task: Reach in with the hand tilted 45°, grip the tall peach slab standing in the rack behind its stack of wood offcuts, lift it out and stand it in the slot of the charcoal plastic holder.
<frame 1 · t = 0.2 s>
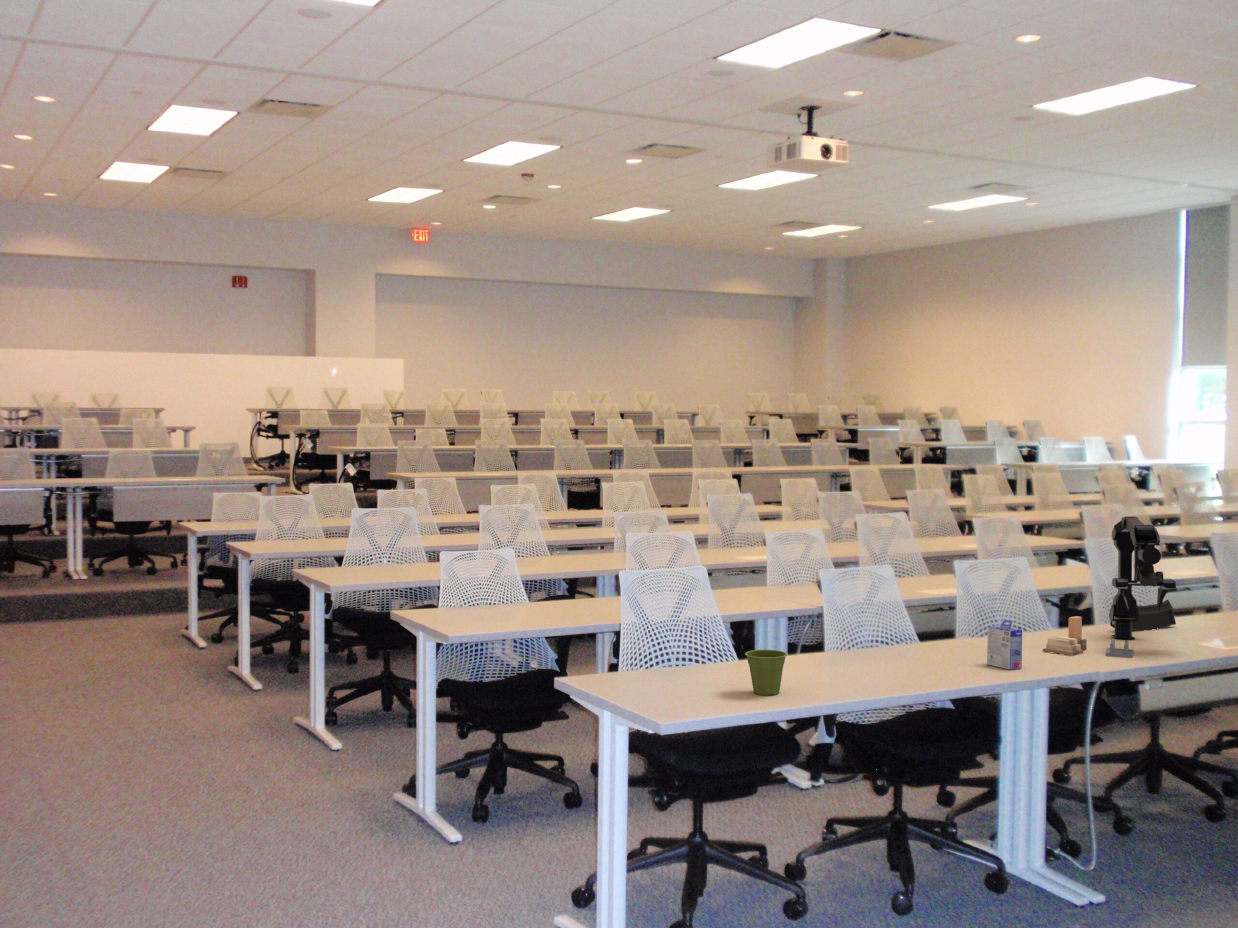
hand: (1143, 609, 379), 14 cm above the table, tool pointing down, fingers open, 9 cm apart
holder: (1119, 654, 376), on the table
plant pot: (766, 693, 320), on the table
tall peach slab: (1075, 649, 385), resting in rack
rack: (1075, 649, 385), on the table
ink cartridge box: (1004, 667, 356), on the table
magazine: (1143, 630, 424), on the table
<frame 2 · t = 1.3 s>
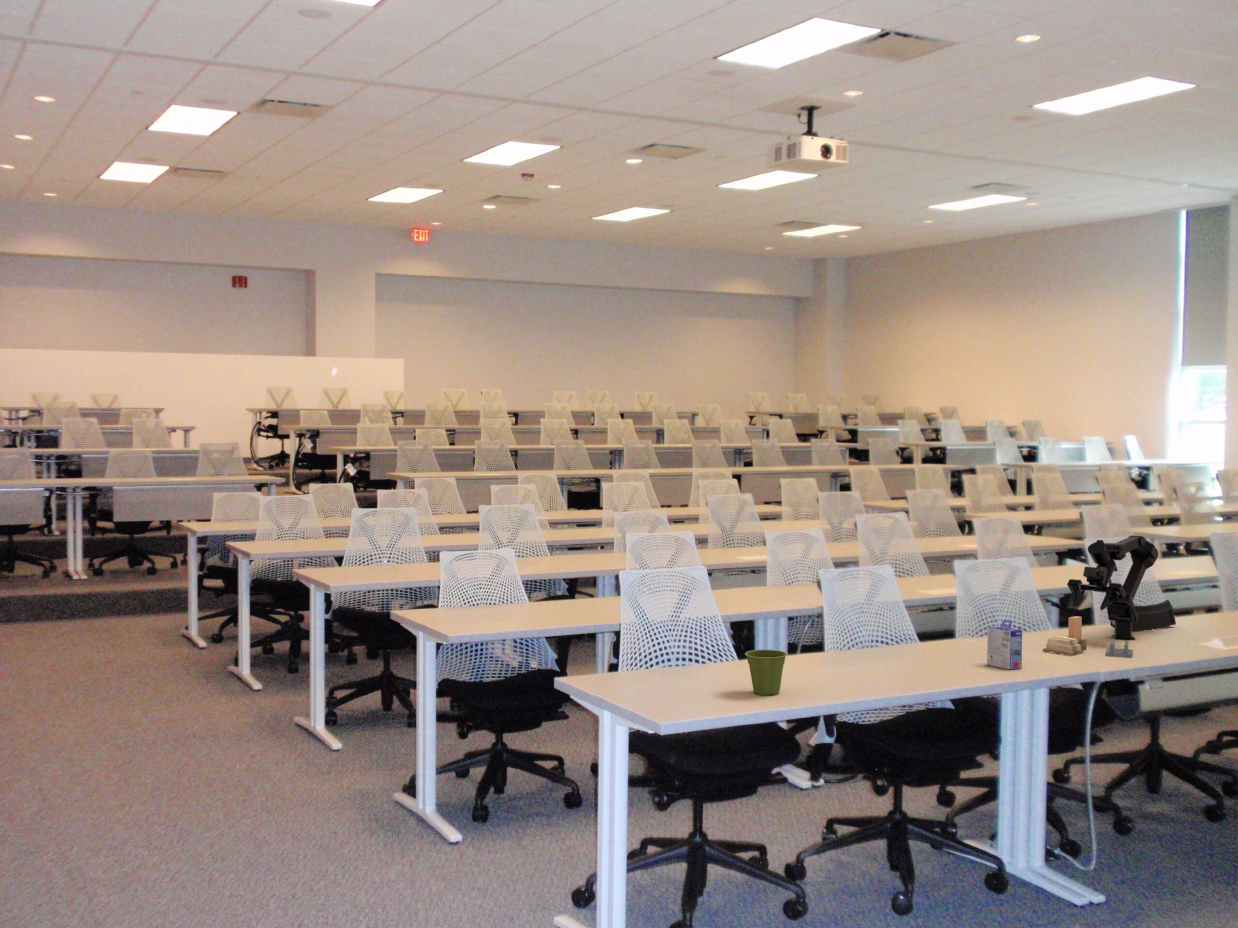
hand: (1087, 608, 389), 13 cm above the table, tool tilted 45°, fingers open, 9 cm apart
nothing on the table moved.
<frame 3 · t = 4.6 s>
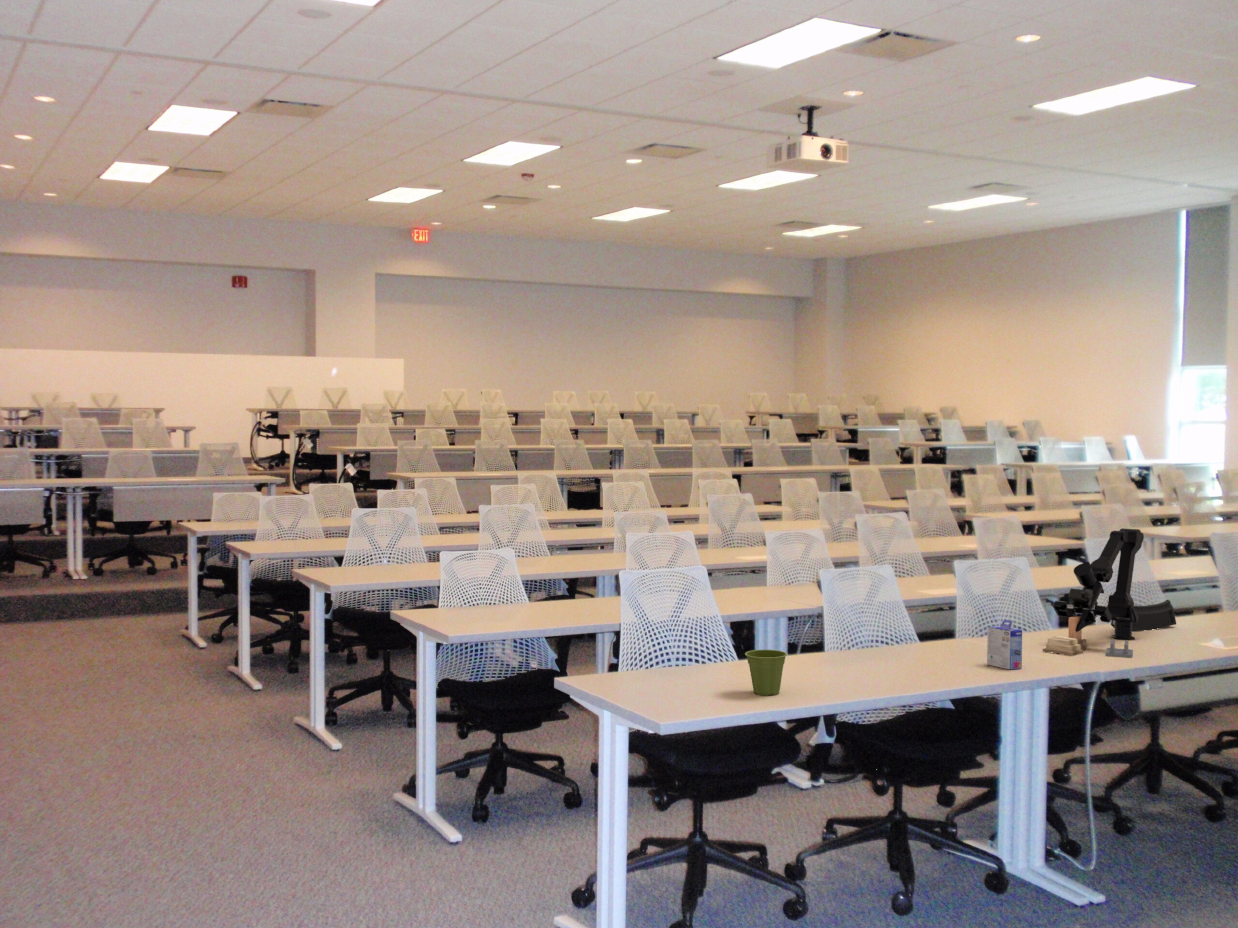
hand: (1073, 630, 384), 7 cm above the table, tool tilted 45°, fingers closed on tall peach slab, 2 cm apart
tall peach slab: (1075, 649, 385), resting in rack, touching gripper
everything else where it was.
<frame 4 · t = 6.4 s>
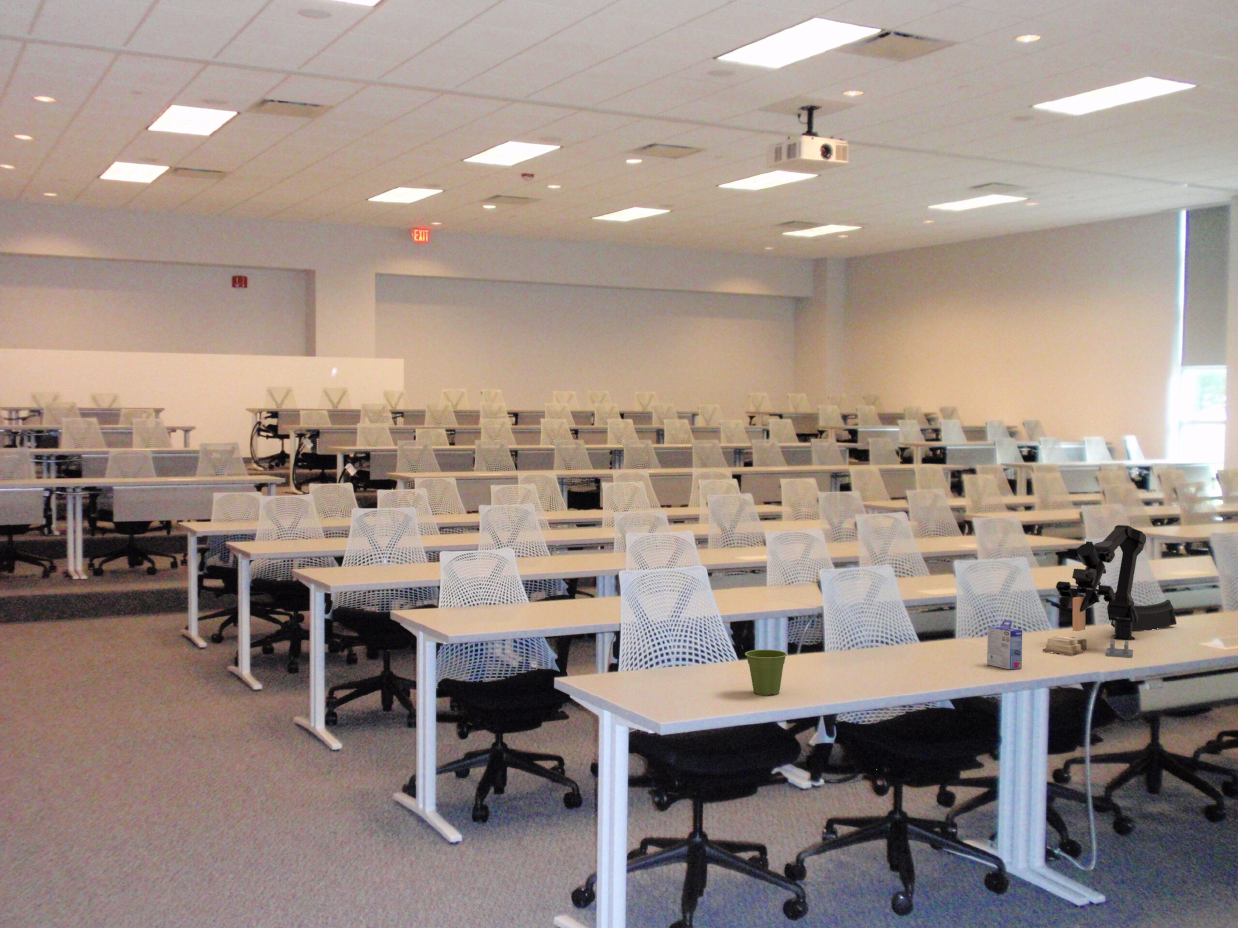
hand: (1077, 610, 382), 13 cm above the table, tool tilted 45°, fingers closed on tall peach slab
tall peach slab: (1078, 629, 383), point 7 cm above the table, touching gripper
everything else where it was.
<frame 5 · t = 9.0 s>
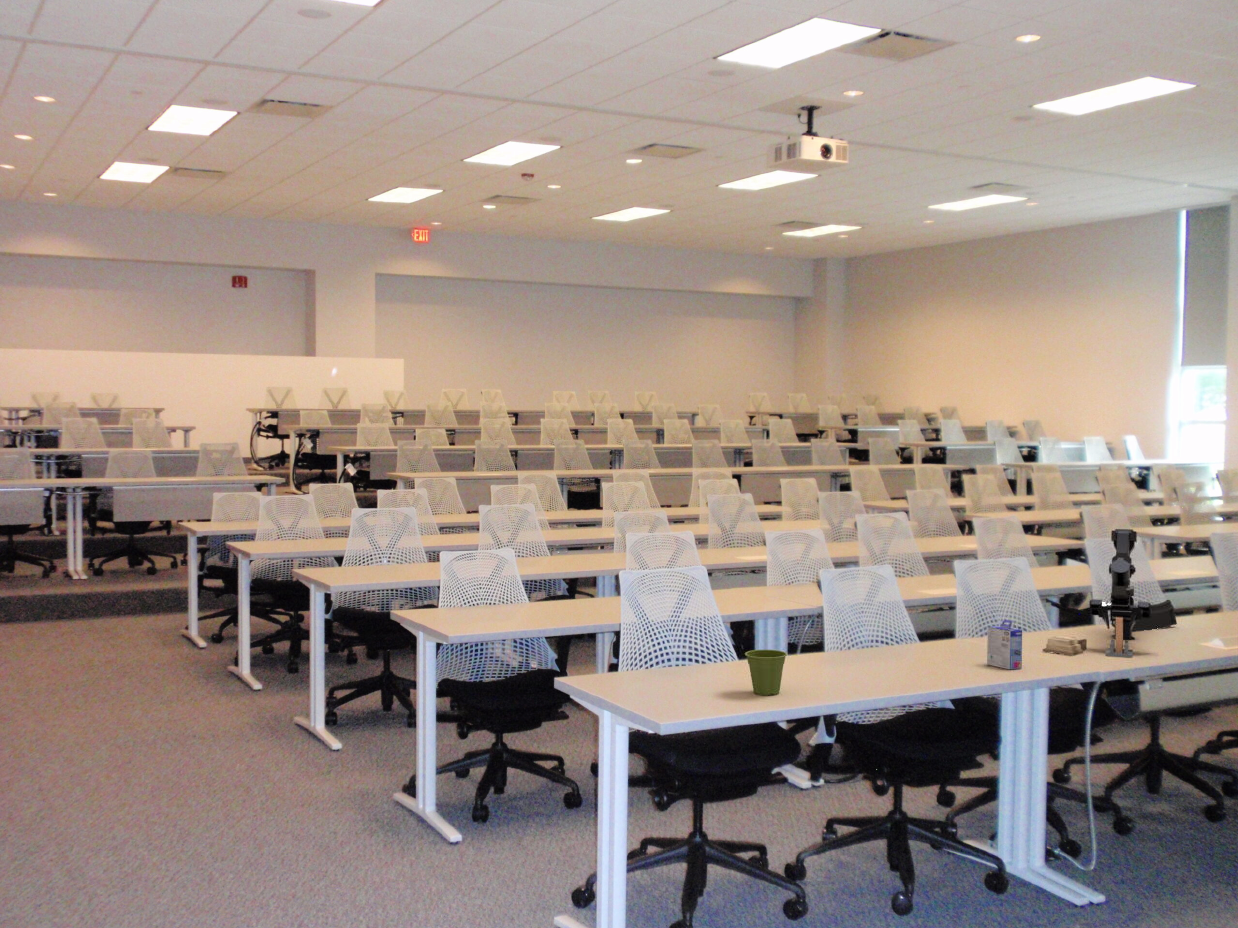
hand: (1119, 628, 374), 9 cm above the table, tool tilted 45°, fingers open, 6 cm apart
tall peach slab: (1119, 651, 376), point 1 cm above the table, touching holder
everything else where it was.
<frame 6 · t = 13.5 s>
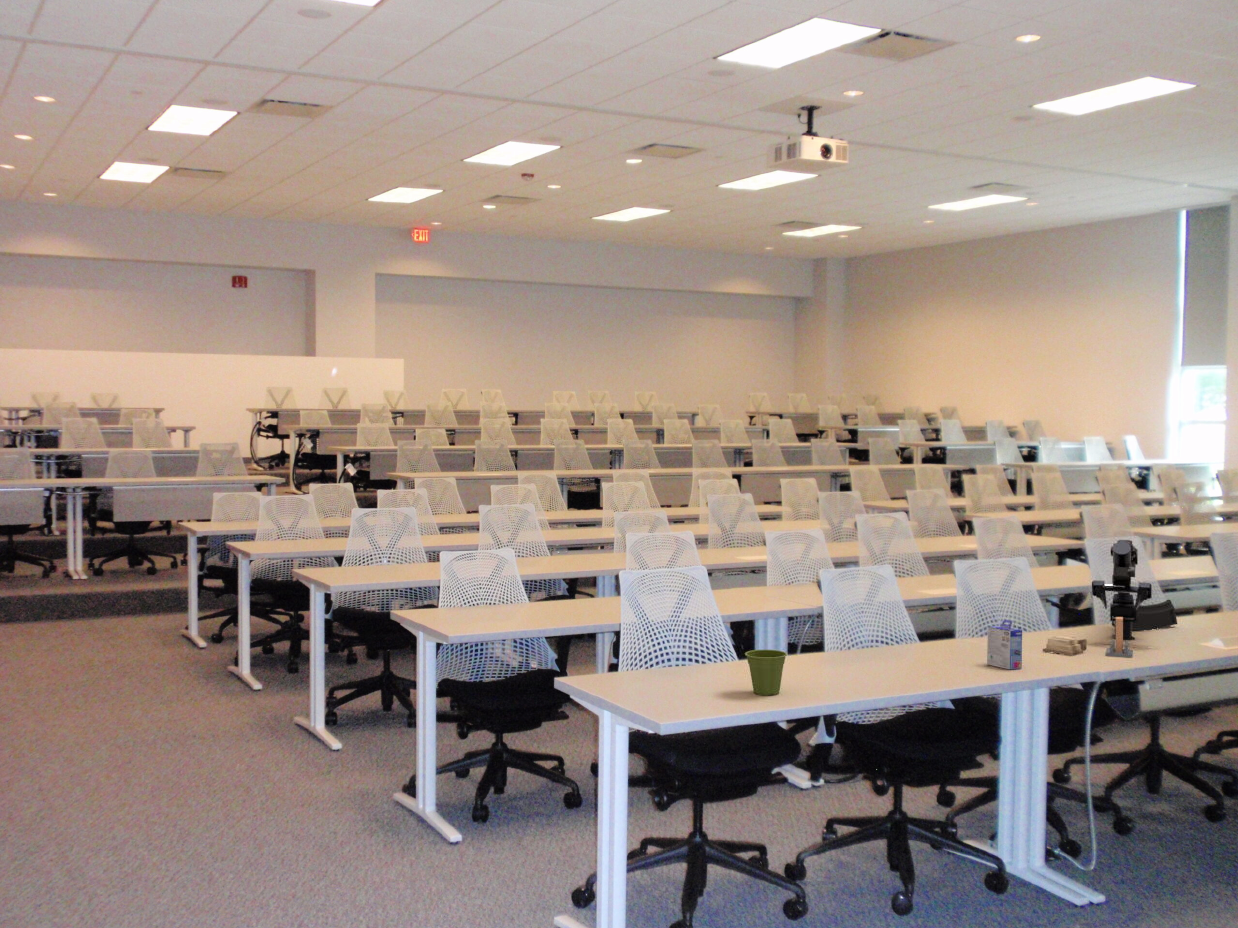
hand: (1120, 608, 385), 14 cm above the table, tool tilted 45°, fingers open, 9 cm apart
nothing on the table moved.
at the end: tall peach slab 0.0 cm off-centre on the holder, point 1.0 cm above the holder's base; tall peach slab tilted 0°; the gripper is holding nothing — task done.
